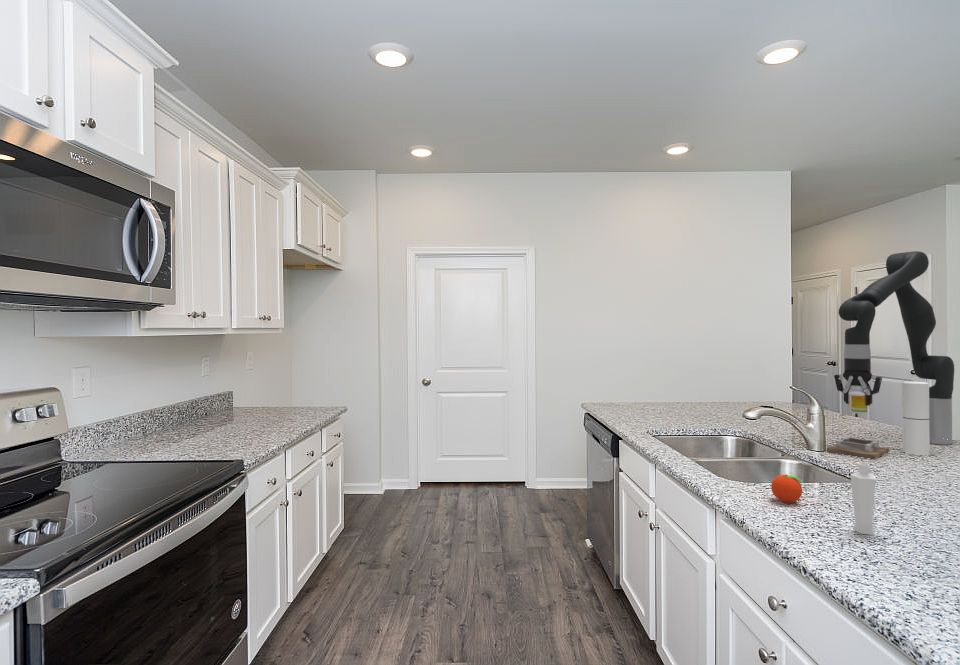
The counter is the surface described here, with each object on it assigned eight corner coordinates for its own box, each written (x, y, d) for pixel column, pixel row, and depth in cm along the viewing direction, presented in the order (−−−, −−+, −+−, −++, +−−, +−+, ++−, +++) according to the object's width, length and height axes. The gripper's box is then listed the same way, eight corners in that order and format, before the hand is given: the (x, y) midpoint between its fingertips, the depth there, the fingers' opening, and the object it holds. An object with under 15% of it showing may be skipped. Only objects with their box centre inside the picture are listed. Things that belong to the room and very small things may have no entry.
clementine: (807, 501, 130) (807, 474, 130) (807, 509, 125) (806, 480, 125) (772, 495, 135) (772, 469, 135) (770, 503, 129) (769, 476, 129)
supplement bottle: (871, 414, 176) (871, 386, 176) (855, 414, 176) (855, 386, 176) (859, 411, 181) (859, 384, 181) (844, 411, 181) (844, 384, 181)
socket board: (842, 445, 189) (842, 435, 189) (888, 452, 177) (888, 441, 177) (826, 452, 180) (826, 440, 180) (874, 459, 169) (874, 448, 169)
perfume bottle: (851, 525, 114) (851, 460, 114) (876, 530, 112) (875, 463, 111) (850, 531, 111) (849, 464, 111) (875, 536, 108) (875, 467, 108)
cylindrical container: (898, 452, 178) (897, 382, 177) (909, 450, 181) (908, 381, 180) (922, 457, 171) (922, 384, 171) (933, 454, 174) (933, 382, 174)
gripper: (885, 357, 175) (886, 405, 175) (837, 355, 186) (838, 401, 186) (878, 358, 170) (879, 408, 170) (829, 356, 182) (830, 403, 182)
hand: (857, 404), depth 178 cm, fingers closed on supplement bottle, 5 cm apart
